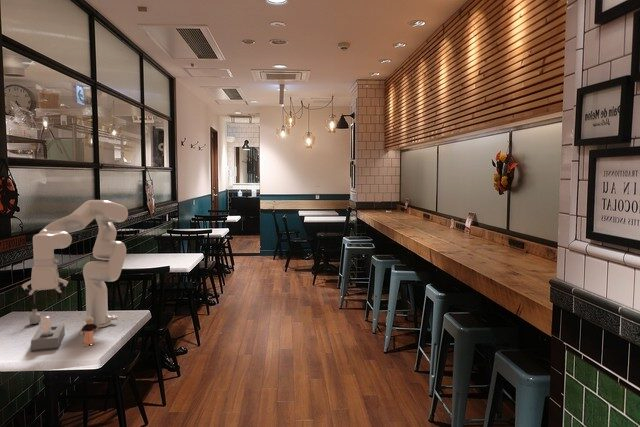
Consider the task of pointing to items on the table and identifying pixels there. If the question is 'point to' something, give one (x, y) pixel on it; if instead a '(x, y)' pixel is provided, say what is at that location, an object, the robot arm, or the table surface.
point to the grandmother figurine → (88, 331)
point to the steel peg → (46, 326)
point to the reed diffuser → (34, 314)
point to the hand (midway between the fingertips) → (46, 302)
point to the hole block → (48, 339)
